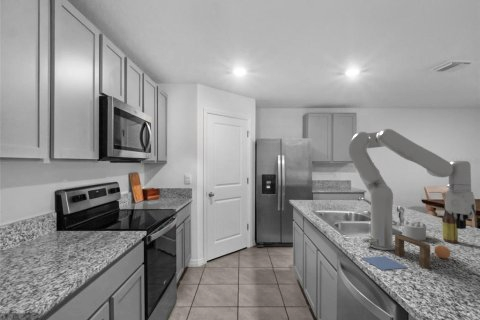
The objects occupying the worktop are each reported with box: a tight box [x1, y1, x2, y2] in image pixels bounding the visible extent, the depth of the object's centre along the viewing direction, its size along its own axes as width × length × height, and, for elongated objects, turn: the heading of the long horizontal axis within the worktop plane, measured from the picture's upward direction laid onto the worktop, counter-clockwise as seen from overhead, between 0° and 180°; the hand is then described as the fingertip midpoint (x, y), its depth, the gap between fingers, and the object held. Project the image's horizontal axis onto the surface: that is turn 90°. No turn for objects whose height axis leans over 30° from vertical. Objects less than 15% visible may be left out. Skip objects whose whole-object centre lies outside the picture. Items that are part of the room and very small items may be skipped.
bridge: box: [394, 234, 431, 269], centre depth 105 cm, size 3×14×9 cm, turn 10°
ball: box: [434, 245, 451, 259], centre depth 108 cm, size 6×6×6 cm
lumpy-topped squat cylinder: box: [403, 220, 427, 241], centre depth 138 cm, size 10×13×9 cm
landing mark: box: [361, 255, 408, 271], centre depth 103 cm, size 12×12×1 cm
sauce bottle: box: [441, 204, 459, 244], centre depth 130 cm, size 7×6×20 cm
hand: (461, 228), depth 109 cm, fingers closed
